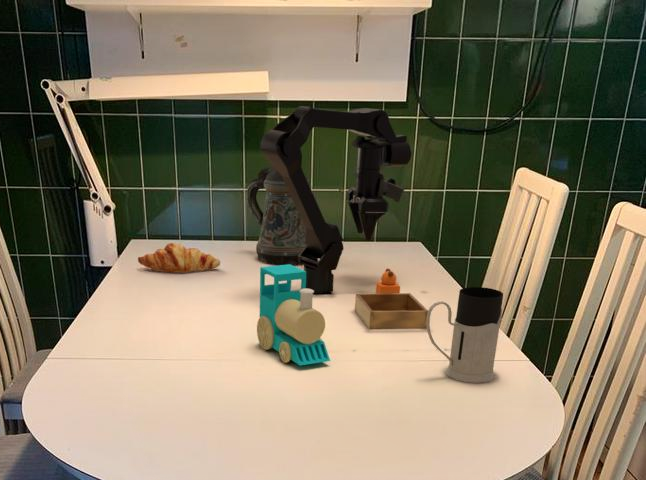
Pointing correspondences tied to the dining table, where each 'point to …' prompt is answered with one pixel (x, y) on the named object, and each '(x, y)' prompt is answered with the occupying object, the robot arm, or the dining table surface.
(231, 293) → the dining table surface
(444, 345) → the dining table surface
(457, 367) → the glass holder
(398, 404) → the dining table surface
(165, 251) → the croissant
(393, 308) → the wooden box
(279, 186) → the beer stein
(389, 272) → the toy bear
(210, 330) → the dining table surface
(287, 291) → the toy train
